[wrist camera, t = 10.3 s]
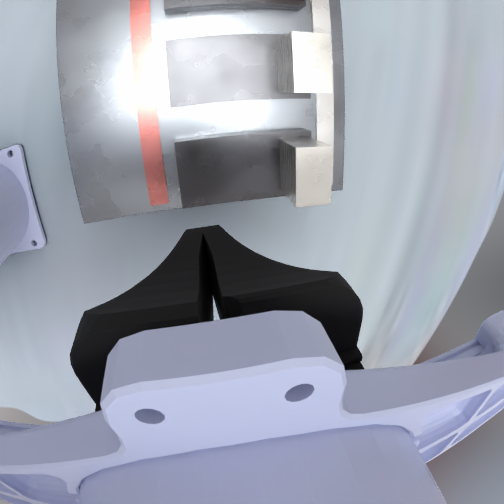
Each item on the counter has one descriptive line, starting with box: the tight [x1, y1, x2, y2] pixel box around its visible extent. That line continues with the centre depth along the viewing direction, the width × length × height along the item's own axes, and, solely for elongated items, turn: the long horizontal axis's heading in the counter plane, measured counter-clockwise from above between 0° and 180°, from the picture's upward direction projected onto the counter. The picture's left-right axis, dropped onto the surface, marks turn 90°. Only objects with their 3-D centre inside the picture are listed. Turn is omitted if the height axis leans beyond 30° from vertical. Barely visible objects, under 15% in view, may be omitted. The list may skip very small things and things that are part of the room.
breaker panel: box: [56, 0, 345, 224], centre depth 13 cm, size 18×25×6 cm
